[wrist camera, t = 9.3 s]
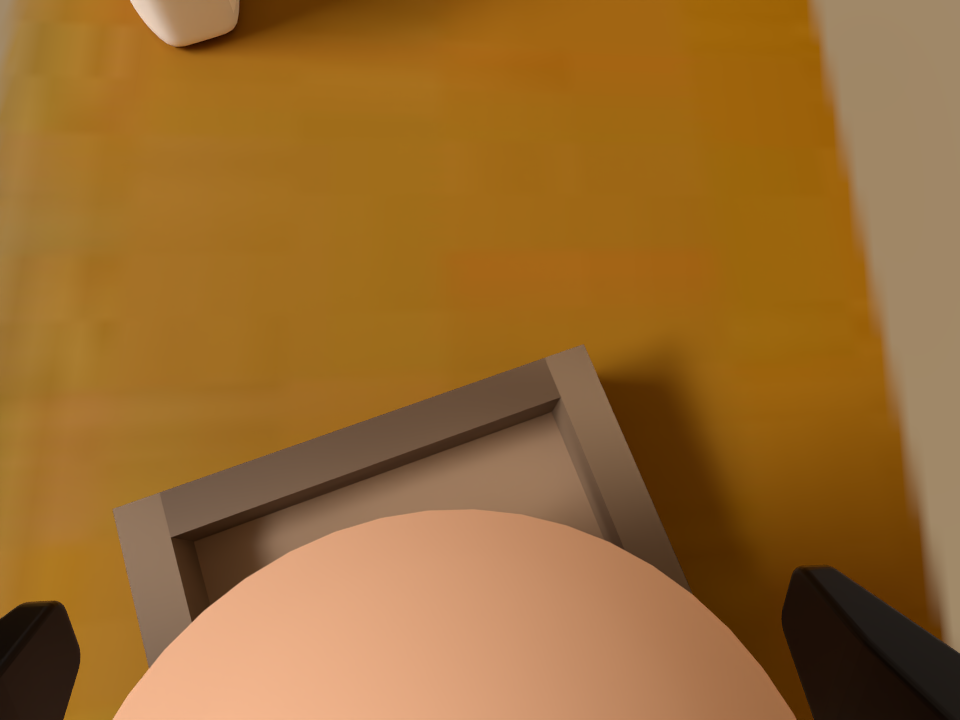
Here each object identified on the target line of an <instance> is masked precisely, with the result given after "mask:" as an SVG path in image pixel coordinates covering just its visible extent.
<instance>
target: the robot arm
mask: <svg viewBox="0 0 960 720" xmlns="http://www.w3.org/2000/svg"><path fill="white" fill-rule="evenodd" d="M782 626H783V631H784V634H785V637H786V640H787V643H788V646H789V649H790V651H791V654H792V657H793V660H794V663H795V666H796V669H797V672H798V674H799V677H800V680H801V683H802V686H803V689H804V692H805V695H806V698H807V700H808V703H809V706H810V709H811V712H812V715H813V718H814V720H960V653H958V652H957V651H955V650H954V649H953V648H951V647H950V646H948V645H947V644H945V643H944V642H942V641H941V640H939V639H938V638H936V637H935V636H933V635H932V634H931V633H929V632H928V631H926V630H925V629H923V628H922V627H920V626H919V625H917V624H916V623H914V622H913V621H911V620H910V619H908V618H907V617H906V616H904V615H903V614H901V613H900V612H898V611H897V610H895V609H894V608H892V607H891V606H889V605H888V604H886V603H885V602H884V601H882V600H881V599H879V598H878V597H876V596H875V595H873V594H872V593H870V592H869V591H867V590H866V589H864V588H863V587H862V586H860V585H859V584H857V583H856V582H854V581H853V580H851V579H850V578H848V577H847V576H845V575H844V574H842V573H841V572H839V571H838V570H837V569H835V568H833V567H831V566H828V565H810V566H800V567H797V568H796V569H795V570H794V571H793V574H792V577H791V580H790V584H789V588H788V591H787V595H786V599H785V603H784V606H783V610H782ZM79 664H80V648H79V645H78V642H77V639H76V636H75V634H74V631H73V628H72V625H71V622H70V620H69V617H68V614H67V611H66V609H65V607H64V605H62V604H61V603H60V602H58V601H38V602H26V603H23V604H21V605H19V606H17V607H16V608H14V609H13V610H12V611H10V612H9V613H8V614H6V615H5V616H4V617H2V618H1V619H0V720H63V719H64V715H65V712H66V709H67V706H68V702H69V699H70V696H71V692H72V689H73V686H74V683H75V679H76V676H77V673H78V669H79Z"/></svg>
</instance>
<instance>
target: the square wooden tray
mask: <svg viewBox="0 0 960 720" xmlns="http://www.w3.org/2000/svg"><path fill="white" fill-rule="evenodd" d="M467 509H477V510H486V511H495V512H505V513H514V514H522V515H526V516H530V517H534V518H538V519H542V520H546V521H551V522H555V523H559V524H563V525H567V526H569V527H572V528H574V529H577V530H580V531H582V532H585V533H587V534H590V535H592V536H595V537H598V538H600V539H603V540H605V541H608V542H610V543H612V544H614V545H616V546H618V547H619V548H621V549H623V550H625V551H627V552H629V553H630V554H632V555H634V556H636V557H638V558H640V559H641V560H643V561H645V562H647V563H649V564H651V565H652V566H654V567H655V568H657V569H658V570H659V571H661V572H662V573H664V574H665V575H666V576H668V577H669V578H670V579H672V580H673V581H675V582H676V583H677V584H679V585H680V586H681V587H683V588H684V589H686V590H687V591H688V592H690V593H691V594H692V591H691V589H690V587H689V584H688V582H687V580H686V578H685V575H684V573H683V571H682V568H681V566H680V564H679V562H678V559H677V557H676V555H675V552H674V550H673V548H672V546H671V543H670V541H669V539H668V536H667V534H666V532H665V529H664V527H663V525H662V523H661V520H660V518H659V516H658V513H657V511H656V509H655V507H654V504H653V502H652V500H651V497H650V495H649V493H648V491H647V488H646V486H645V484H644V481H643V479H642V477H641V474H640V472H639V470H638V468H637V465H636V463H635V461H634V458H633V456H632V454H631V452H630V449H629V447H628V445H627V442H626V440H625V438H624V435H623V433H622V431H621V429H620V426H619V424H618V422H617V419H616V417H615V415H614V413H613V410H612V408H611V406H610V403H609V401H608V399H607V397H606V394H605V392H604V390H603V387H602V385H601V383H600V380H599V378H598V376H597V374H596V371H595V369H594V367H593V364H592V362H591V360H590V358H589V355H588V353H587V351H586V348H585V346H584V344H583V345H580V346H578V347H575V348H572V349H569V350H566V351H563V352H560V353H558V354H555V355H552V356H549V357H546V358H543V359H540V360H538V361H535V362H532V363H529V364H526V365H523V366H520V367H518V368H515V369H512V370H509V371H506V372H503V373H500V374H497V375H495V376H492V377H489V378H486V379H483V380H480V381H477V382H475V383H472V384H469V385H466V386H463V387H460V388H457V389H455V390H452V391H449V392H446V393H443V394H440V395H437V396H435V397H432V398H429V399H426V400H423V401H420V402H417V403H415V404H412V405H409V406H406V407H403V408H400V409H397V410H395V411H392V412H389V413H386V414H383V415H380V416H377V417H375V418H372V419H369V420H366V421H363V422H360V423H357V424H355V425H352V426H349V427H346V428H343V429H340V430H337V431H335V432H332V433H329V434H326V435H323V436H320V437H317V438H315V439H312V440H309V441H306V442H303V443H300V444H297V445H295V446H292V447H289V448H286V449H283V450H280V451H277V452H275V453H272V454H269V455H266V456H263V457H260V458H257V459H255V460H252V461H249V462H246V463H243V464H240V465H237V466H235V467H232V468H229V469H226V470H223V471H220V472H217V473H215V474H212V475H209V476H206V477H203V478H200V479H197V480H194V481H192V482H189V483H186V484H183V485H180V486H177V487H174V488H172V489H169V490H166V491H163V492H160V493H157V494H154V495H152V496H149V497H146V498H143V499H140V500H137V501H134V502H132V503H129V504H126V505H123V506H120V507H117V508H114V509H113V513H114V517H115V522H116V526H117V530H118V535H119V539H120V544H121V548H122V552H123V557H124V561H125V565H126V570H127V574H128V578H129V583H130V587H131V591H132V596H133V600H134V604H135V609H136V613H137V618H138V622H139V626H140V631H141V635H142V639H143V644H144V648H145V652H146V657H147V661H148V665H149V668H150V667H151V666H152V665H153V663H154V662H155V661H156V660H157V658H158V657H159V656H160V655H161V653H162V652H163V651H164V650H165V649H166V648H167V647H168V646H169V645H170V644H171V643H172V642H173V641H174V640H175V639H176V638H177V637H178V636H179V635H180V634H181V633H182V632H183V631H184V630H185V629H186V628H187V627H188V626H189V625H190V624H191V623H192V622H193V621H194V620H195V619H196V618H197V617H198V616H199V615H200V614H201V613H202V612H203V611H204V610H206V609H207V608H208V607H209V606H211V605H212V604H213V603H215V602H216V601H217V600H218V599H220V598H221V597H222V596H224V595H225V594H226V593H227V592H229V591H230V590H231V589H232V588H234V587H235V586H236V585H238V584H239V583H240V582H241V581H243V580H244V579H245V578H247V577H249V576H250V575H252V574H254V573H255V572H257V571H259V570H260V569H262V568H264V567H265V566H267V565H269V564H270V563H272V562H273V561H275V560H277V559H278V558H280V557H282V556H283V555H285V554H287V553H288V552H290V551H293V550H295V549H297V548H299V547H302V546H304V545H306V544H308V543H311V542H313V541H315V540H317V539H320V538H322V537H324V536H326V535H329V534H331V533H333V532H336V531H339V530H343V529H346V528H349V527H353V526H356V525H359V524H363V523H366V522H369V521H373V520H376V519H380V518H384V517H391V516H397V515H403V514H409V513H416V512H422V511H429V510H467Z"/></svg>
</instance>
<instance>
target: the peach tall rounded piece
mask: <svg viewBox="0 0 960 720" xmlns="http://www.w3.org/2000/svg"><path fill="white" fill-rule="evenodd" d="M113 720H796V718H795V716H794V714H793V712H792V711H791V709H790V708H789V706H788V705H787V703H786V702H785V700H784V699H783V697H782V696H781V694H780V693H779V691H778V690H777V688H776V687H775V685H774V684H773V682H772V681H771V679H770V678H769V676H768V675H767V673H766V672H765V670H764V669H763V668H762V667H761V665H760V664H759V663H758V662H757V661H756V659H755V658H754V657H753V656H752V655H751V654H750V652H749V651H748V650H747V649H746V648H745V647H744V645H743V644H742V643H741V642H740V641H739V639H738V638H737V637H736V636H735V635H734V634H733V632H732V631H731V630H730V629H729V628H728V627H727V626H726V625H725V624H724V623H723V622H722V621H721V620H719V619H718V618H717V617H716V616H715V615H714V614H713V613H712V612H711V611H710V610H709V609H708V608H707V607H705V606H704V605H703V604H702V603H701V602H700V601H699V600H698V599H697V598H696V597H695V596H694V595H693V594H691V593H690V592H688V591H687V590H686V589H684V588H683V587H681V586H680V585H679V584H677V583H676V582H675V581H673V580H672V579H670V578H669V577H668V576H666V575H665V574H664V573H662V572H661V571H659V570H658V569H657V568H655V567H654V566H652V565H651V564H649V563H647V562H645V561H643V560H641V559H640V558H638V557H636V556H634V555H632V554H630V553H629V552H627V551H625V550H623V549H621V548H619V547H618V546H616V545H614V544H612V543H610V542H608V541H605V540H603V539H600V538H598V537H595V536H592V535H590V534H587V533H585V532H582V531H580V530H577V529H574V528H572V527H569V526H567V525H563V524H559V523H555V522H551V521H546V520H542V519H538V518H534V517H530V516H526V515H522V514H514V513H505V512H495V511H486V510H477V509H467V510H429V511H422V512H416V513H409V514H403V515H397V516H391V517H384V518H380V519H376V520H373V521H369V522H366V523H363V524H359V525H356V526H353V527H349V528H346V529H343V530H339V531H336V532H333V533H331V534H329V535H326V536H324V537H322V538H320V539H317V540H315V541H313V542H311V543H308V544H306V545H304V546H302V547H299V548H297V549H295V550H293V551H290V552H288V553H287V554H285V555H283V556H282V557H280V558H278V559H277V560H275V561H273V562H272V563H270V564H269V565H267V566H265V567H264V568H262V569H260V570H259V571H257V572H255V573H254V574H252V575H250V576H249V577H247V578H245V579H244V580H243V581H241V582H240V583H239V584H238V585H236V586H235V587H234V588H232V589H231V590H230V591H229V592H227V593H226V594H225V595H224V596H222V597H221V598H220V599H218V600H217V601H216V602H215V603H213V604H212V605H211V606H209V607H208V608H207V609H206V610H204V611H203V612H202V613H201V614H200V615H199V616H198V617H197V618H196V619H195V620H194V621H193V622H192V623H191V624H190V625H189V626H188V627H187V628H186V629H185V630H184V631H183V632H182V633H181V634H180V635H179V636H178V637H177V638H176V639H175V640H174V641H173V642H172V643H171V644H170V645H169V646H168V647H167V648H166V649H165V650H164V651H163V652H162V653H161V655H160V656H159V657H158V658H157V660H156V661H155V662H154V663H153V665H152V666H151V667H150V668H149V670H148V671H147V672H146V673H145V675H144V676H143V677H142V678H141V680H140V681H139V682H138V683H137V685H136V686H135V687H134V688H133V690H132V691H131V692H130V693H129V695H128V696H127V698H126V699H125V701H124V702H123V704H122V706H121V707H120V709H119V710H118V712H117V714H116V715H115V717H114V718H113Z"/></svg>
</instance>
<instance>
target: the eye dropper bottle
mask: <svg viewBox="0 0 960 720" xmlns="http://www.w3.org/2000/svg"><path fill="white" fill-rule="evenodd" d="M130 1H131V3H132V4H133V6H134V8H135V9H136V11H137V12H138V14H139V15H140V17H141V18H142V19H143V21H144V22H145V23H146V24H147V25H148V27H149V28H150V29H151V30H152V31H153V32H154V33H155V34H156V35H157V36H158V37H159V38H160V39H162V40H163V41H164V42H166V43H167V44H169V45H172V46H174V47H179V46H187V45H190V44H194V43H198V42H201V41H204V40H208V39H211V38H214V37H217V36H220V35H223V34H226V33H228V32H229V31H231V30H233V29H234V27H235V25H236V24H237V20H238V16H239V0H130Z"/></svg>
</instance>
